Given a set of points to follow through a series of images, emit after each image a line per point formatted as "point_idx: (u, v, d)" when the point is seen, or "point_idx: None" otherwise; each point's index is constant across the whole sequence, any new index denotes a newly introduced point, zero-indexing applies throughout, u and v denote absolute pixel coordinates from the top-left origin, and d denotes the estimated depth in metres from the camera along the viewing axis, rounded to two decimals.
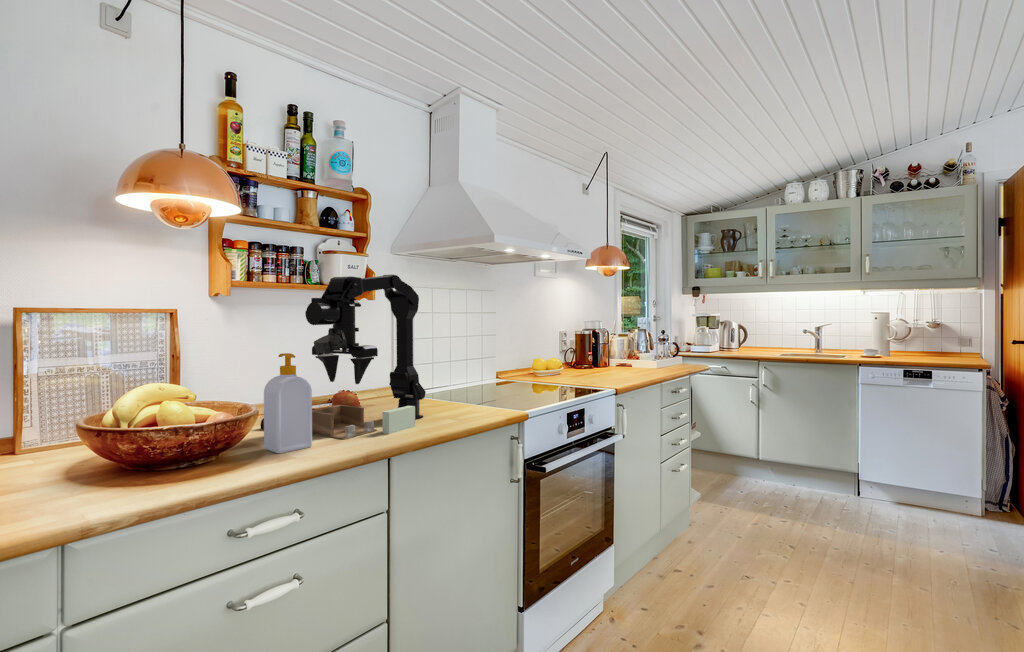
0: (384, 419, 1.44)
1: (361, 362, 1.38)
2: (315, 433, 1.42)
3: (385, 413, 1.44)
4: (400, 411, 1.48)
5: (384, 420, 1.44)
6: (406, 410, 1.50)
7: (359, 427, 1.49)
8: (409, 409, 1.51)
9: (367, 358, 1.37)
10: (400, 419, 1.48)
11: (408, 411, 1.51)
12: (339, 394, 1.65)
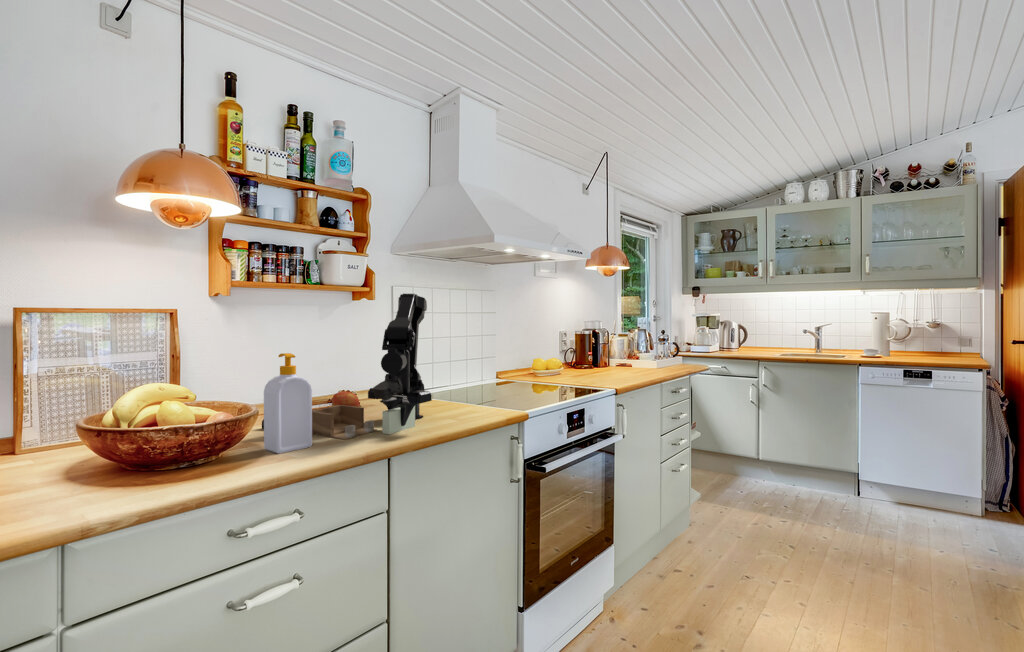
0: (384, 418, 1.44)
1: (407, 405, 1.48)
2: (315, 433, 1.42)
3: (385, 413, 1.44)
4: (400, 411, 1.48)
5: (384, 420, 1.44)
6: None
7: (359, 427, 1.49)
8: None
9: None
10: (400, 419, 1.48)
11: None
12: (339, 394, 1.65)
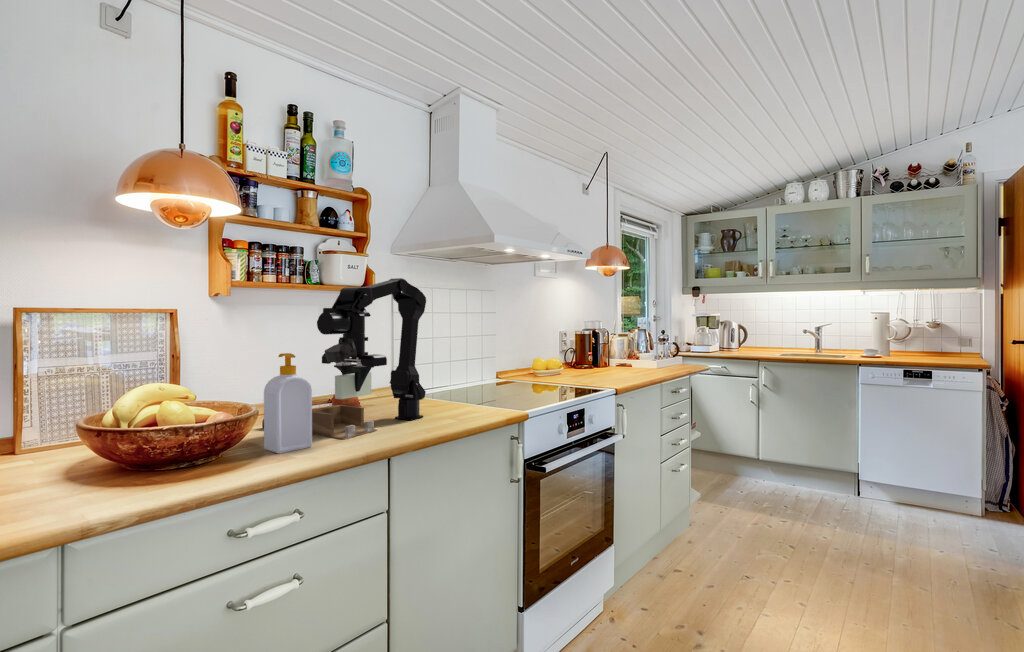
0: (336, 383, 1.39)
1: (361, 370, 1.43)
2: (315, 433, 1.42)
3: (337, 377, 1.39)
4: (354, 376, 1.42)
5: (336, 384, 1.39)
6: None
7: (359, 427, 1.49)
8: None
9: (367, 366, 1.41)
10: (354, 384, 1.42)
11: None
12: None
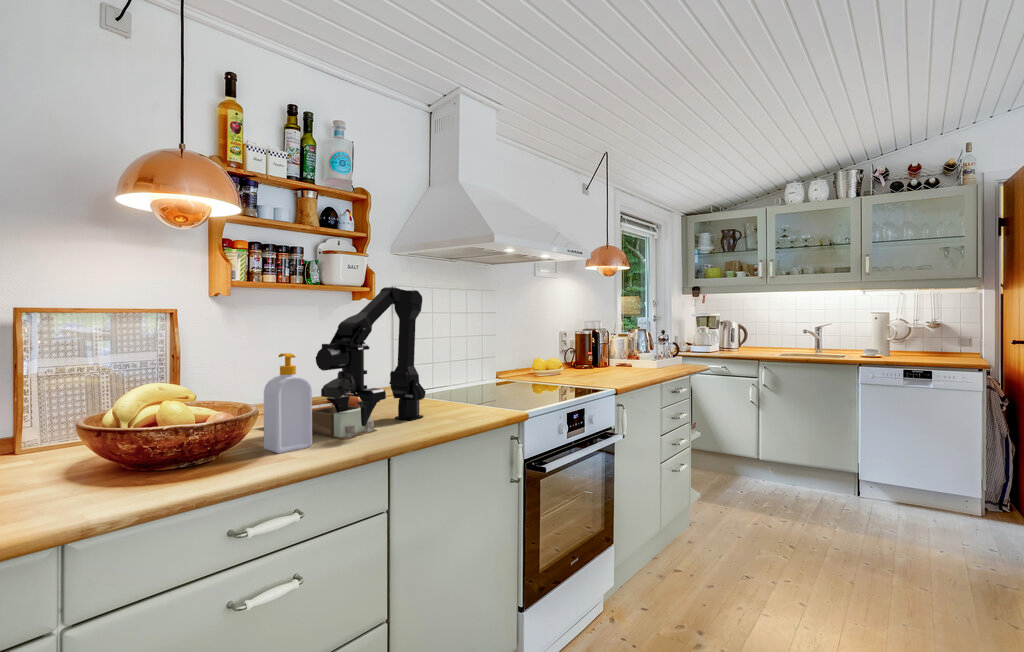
0: (335, 421, 1.39)
1: (367, 405, 1.42)
2: (315, 433, 1.42)
3: (336, 415, 1.39)
4: (353, 413, 1.42)
5: (335, 422, 1.39)
6: (360, 412, 1.45)
7: None
8: None
9: (373, 401, 1.40)
10: (353, 421, 1.42)
11: None
12: None
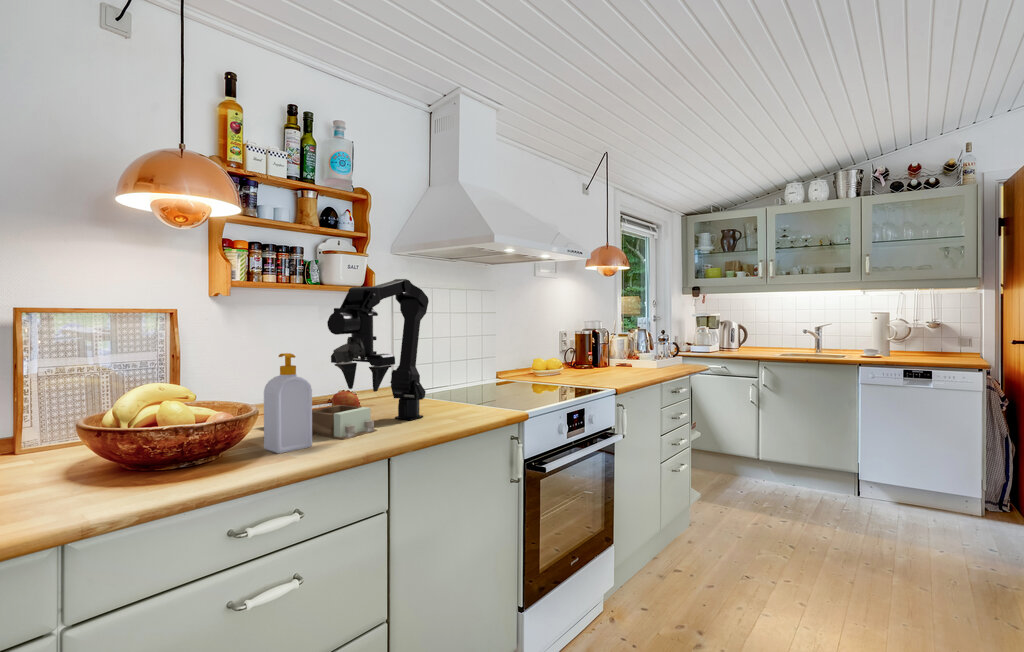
0: (335, 421, 1.39)
1: (379, 370, 1.42)
2: (315, 433, 1.42)
3: (336, 415, 1.39)
4: (353, 413, 1.42)
5: (335, 422, 1.39)
6: (360, 412, 1.45)
7: None
8: (363, 411, 1.46)
9: (385, 366, 1.41)
10: (353, 421, 1.42)
11: (362, 413, 1.45)
12: (339, 394, 1.65)
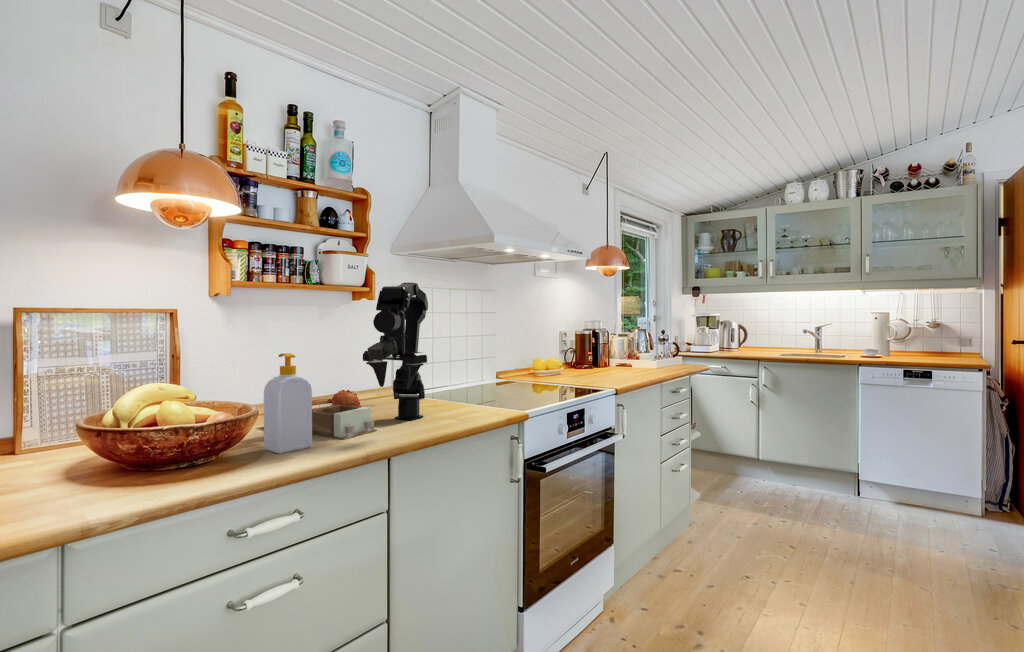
0: (335, 421, 1.39)
1: (411, 368, 1.44)
2: (315, 433, 1.42)
3: (336, 415, 1.39)
4: (353, 413, 1.42)
5: (335, 422, 1.39)
6: (360, 412, 1.45)
7: None
8: (363, 411, 1.46)
9: (417, 364, 1.43)
10: (353, 421, 1.42)
11: (362, 413, 1.45)
12: (339, 394, 1.65)
